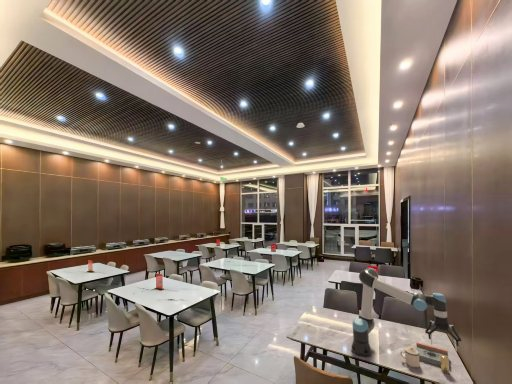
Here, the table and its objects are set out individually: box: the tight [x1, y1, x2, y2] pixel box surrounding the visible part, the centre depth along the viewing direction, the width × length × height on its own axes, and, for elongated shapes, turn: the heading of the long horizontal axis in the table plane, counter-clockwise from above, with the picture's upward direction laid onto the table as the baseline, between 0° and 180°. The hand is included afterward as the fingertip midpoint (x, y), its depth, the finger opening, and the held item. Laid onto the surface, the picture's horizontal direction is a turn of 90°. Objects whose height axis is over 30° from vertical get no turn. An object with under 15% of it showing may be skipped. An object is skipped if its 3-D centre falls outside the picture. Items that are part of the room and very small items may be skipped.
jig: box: [415, 341, 450, 367], centre depth 180 cm, size 20×16×6 cm
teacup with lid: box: [400, 346, 421, 368], centre depth 174 cm, size 12×9×12 cm
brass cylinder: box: [440, 355, 450, 375], centre depth 165 cm, size 5×5×10 cm
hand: (443, 347), depth 166 cm, fingers open, 13 cm apart
